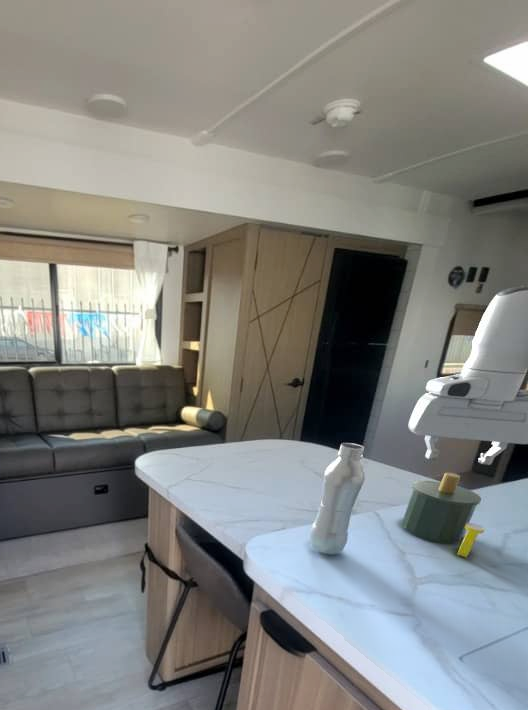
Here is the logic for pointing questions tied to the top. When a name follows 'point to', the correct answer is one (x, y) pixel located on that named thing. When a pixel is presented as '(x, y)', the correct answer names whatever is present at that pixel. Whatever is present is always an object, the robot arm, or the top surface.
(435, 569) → the top surface
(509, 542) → the top surface
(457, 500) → the tin lid
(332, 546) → the plastic bottle
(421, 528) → the tin
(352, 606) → the top surface
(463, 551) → the watch
